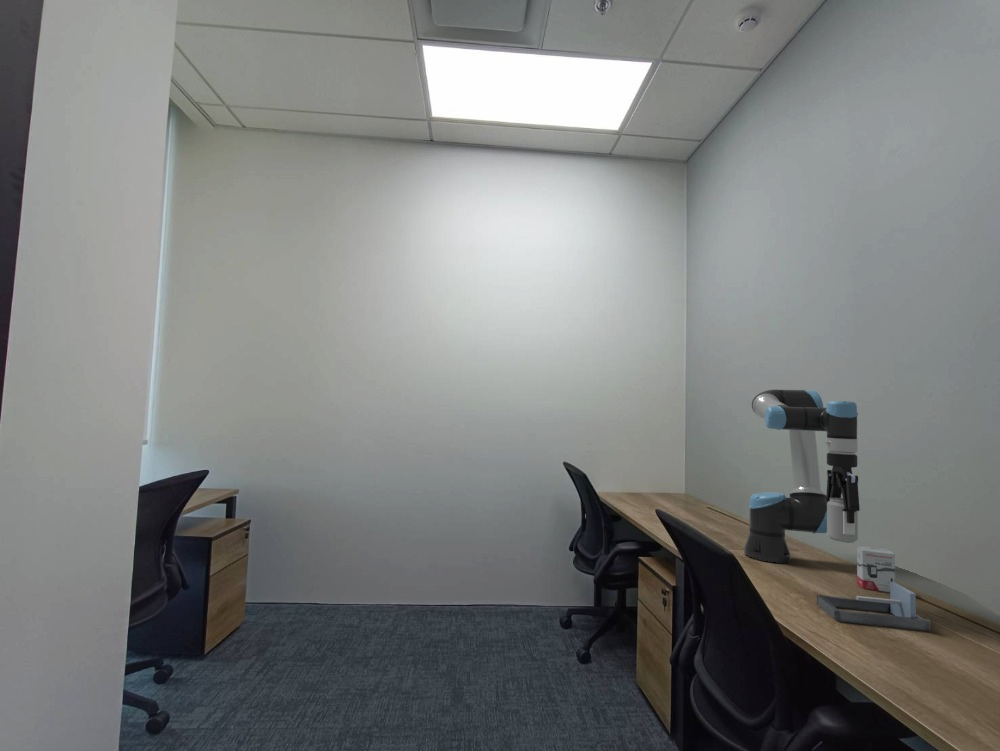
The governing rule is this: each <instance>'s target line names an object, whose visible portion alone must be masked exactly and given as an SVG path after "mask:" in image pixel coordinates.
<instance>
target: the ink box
mask: <svg viewBox="0 0 1000 751" xmlns="http://www.w3.org/2000/svg"><path fill="white" fill-rule="evenodd" d="M856 572H857V573H856V574H857V576H856V577H857V578H856V580H857V582H856V584H857V585H858V586H859V587H860V588H862V590H871V591H877V592H885V593H890V582H895V583H896V554H894V553H893V552H892V551H891V550H890V549H887V548H886V549H885V548H878V547H872V546H861V545H859V546H857V547H856Z"/></svg>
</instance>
